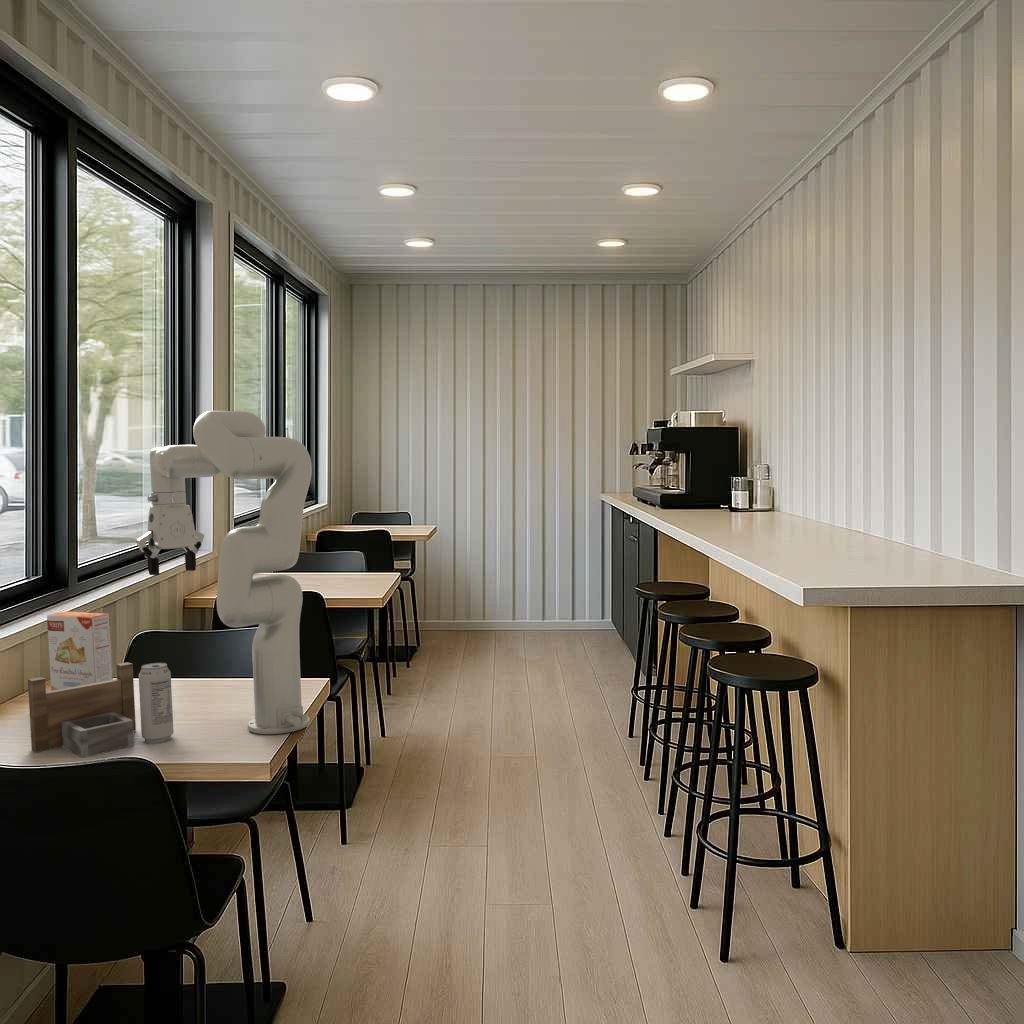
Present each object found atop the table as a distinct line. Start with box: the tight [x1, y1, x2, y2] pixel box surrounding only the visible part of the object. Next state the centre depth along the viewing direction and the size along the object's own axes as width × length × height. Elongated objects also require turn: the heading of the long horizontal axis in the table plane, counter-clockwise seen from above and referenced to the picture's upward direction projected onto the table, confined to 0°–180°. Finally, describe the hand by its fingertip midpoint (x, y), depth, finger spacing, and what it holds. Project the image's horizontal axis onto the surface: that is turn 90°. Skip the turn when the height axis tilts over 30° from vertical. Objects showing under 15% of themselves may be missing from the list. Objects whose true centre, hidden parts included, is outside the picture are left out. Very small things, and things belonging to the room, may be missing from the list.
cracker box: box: [46, 610, 114, 691], centre depth 224 cm, size 14×6×21 cm, turn 68°
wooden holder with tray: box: [27, 661, 137, 758], centre depth 188 cm, size 13×20×14 cm, turn 135°
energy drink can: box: [138, 662, 174, 744], centre depth 191 cm, size 6×6×15 cm
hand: (172, 572), depth 224 cm, fingers open, 9 cm apart
